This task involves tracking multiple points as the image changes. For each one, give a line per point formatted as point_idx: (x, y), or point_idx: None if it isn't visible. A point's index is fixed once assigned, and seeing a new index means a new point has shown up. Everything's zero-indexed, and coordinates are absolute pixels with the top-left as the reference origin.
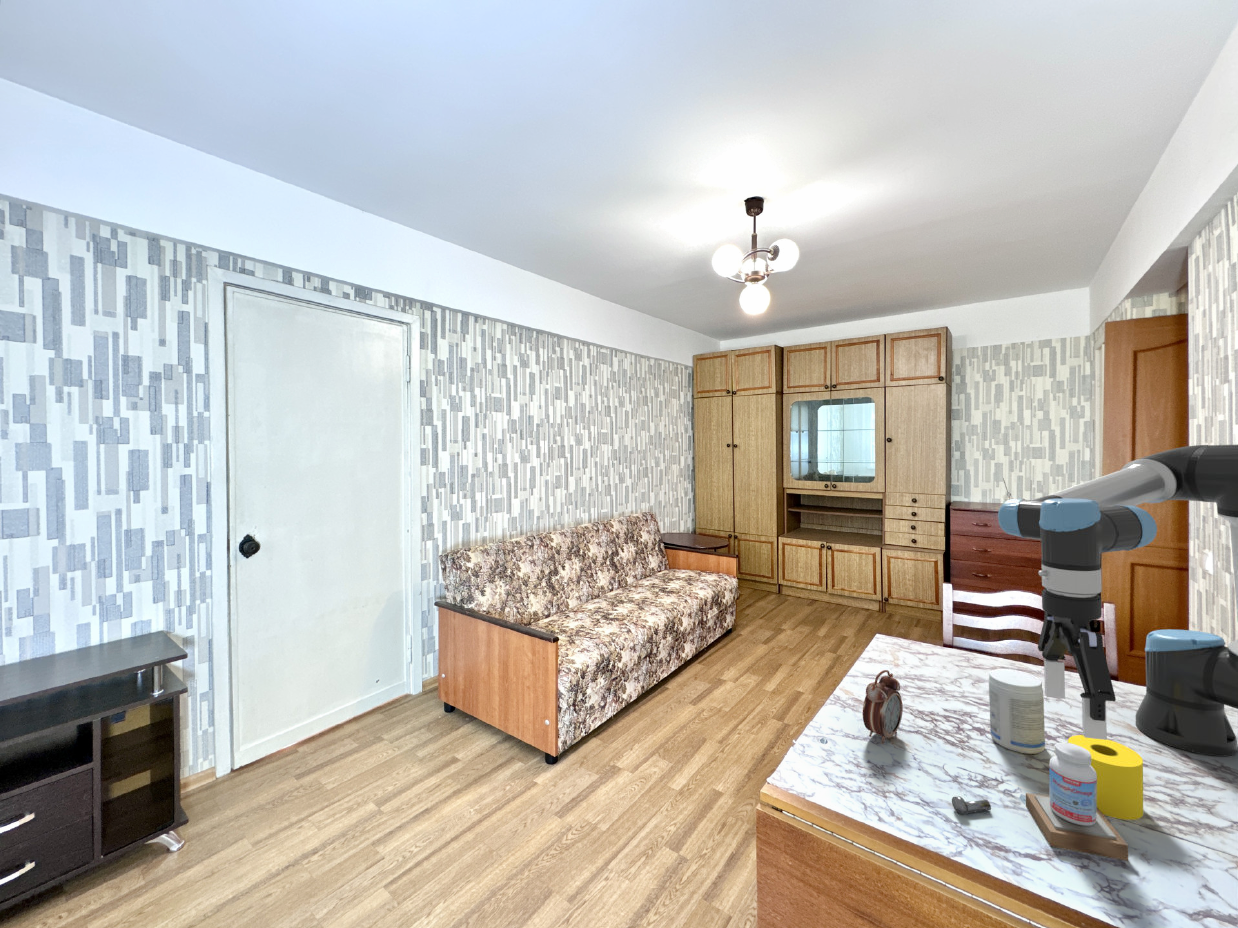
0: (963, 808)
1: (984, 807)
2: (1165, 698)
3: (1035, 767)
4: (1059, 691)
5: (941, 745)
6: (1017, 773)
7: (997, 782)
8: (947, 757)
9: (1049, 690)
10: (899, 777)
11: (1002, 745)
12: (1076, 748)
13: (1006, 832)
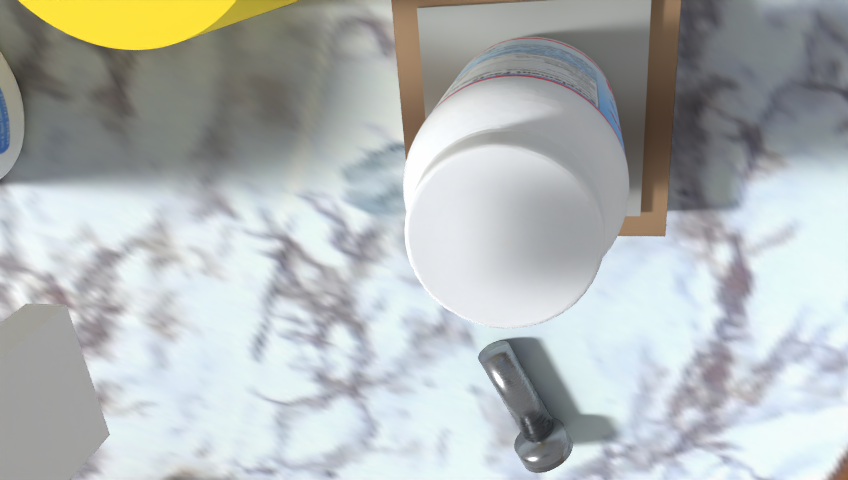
0: (569, 445)
1: (519, 368)
2: None
3: (111, 81)
4: (30, 386)
5: (129, 370)
6: (197, 167)
7: (300, 258)
8: (205, 373)
9: (58, 460)
10: None
11: (12, 165)
12: (471, 209)
13: (616, 324)
